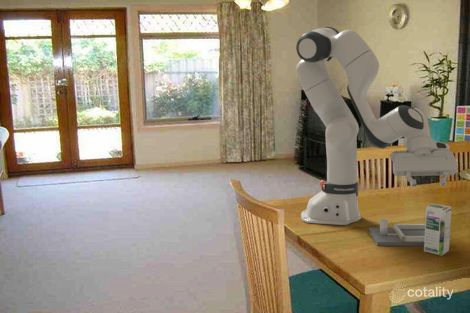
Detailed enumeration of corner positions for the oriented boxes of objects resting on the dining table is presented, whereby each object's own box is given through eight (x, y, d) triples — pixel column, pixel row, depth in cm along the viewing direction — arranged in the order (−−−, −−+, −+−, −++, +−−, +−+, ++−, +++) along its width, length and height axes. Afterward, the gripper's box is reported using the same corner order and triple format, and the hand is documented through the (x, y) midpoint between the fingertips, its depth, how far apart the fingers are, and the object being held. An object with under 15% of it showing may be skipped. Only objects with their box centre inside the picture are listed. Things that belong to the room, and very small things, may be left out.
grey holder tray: (377, 245, 150) (377, 227, 149) (368, 230, 164) (369, 213, 163) (444, 245, 148) (445, 227, 147) (430, 230, 162) (431, 213, 161)
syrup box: (423, 251, 144) (425, 206, 141) (431, 246, 148) (433, 202, 145) (441, 256, 140) (444, 210, 137) (449, 250, 144) (452, 205, 141)
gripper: (391, 145, 158) (397, 180, 150) (453, 144, 156) (464, 179, 148) (387, 156, 163) (393, 190, 155) (448, 155, 161) (458, 189, 153)
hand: (428, 185), depth 151 cm, fingers open, 8 cm apart
